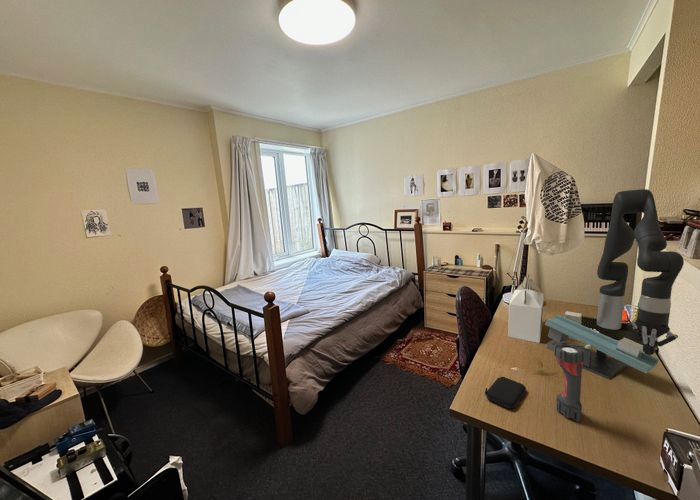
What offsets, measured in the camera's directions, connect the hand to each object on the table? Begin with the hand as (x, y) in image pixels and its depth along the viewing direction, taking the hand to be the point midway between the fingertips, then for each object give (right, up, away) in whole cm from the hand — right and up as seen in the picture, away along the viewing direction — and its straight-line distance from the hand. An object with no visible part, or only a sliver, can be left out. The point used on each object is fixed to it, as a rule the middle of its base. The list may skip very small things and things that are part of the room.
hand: (648, 353), depth 102 cm
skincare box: (0, -5, +36) cm, 36 cm away
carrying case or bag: (-50, -16, +2) cm, 53 cm away
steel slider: (-2, -2, +5) cm, 6 cm away
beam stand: (-8, -9, +19) cm, 23 cm away
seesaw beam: (-7, -6, +16) cm, 18 cm away
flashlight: (-35, -16, -8) cm, 40 cm away
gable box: (-16, -5, +45) cm, 48 cm away
